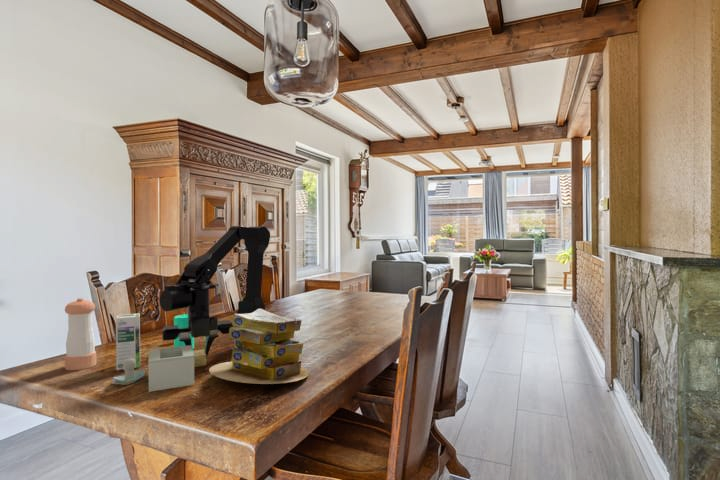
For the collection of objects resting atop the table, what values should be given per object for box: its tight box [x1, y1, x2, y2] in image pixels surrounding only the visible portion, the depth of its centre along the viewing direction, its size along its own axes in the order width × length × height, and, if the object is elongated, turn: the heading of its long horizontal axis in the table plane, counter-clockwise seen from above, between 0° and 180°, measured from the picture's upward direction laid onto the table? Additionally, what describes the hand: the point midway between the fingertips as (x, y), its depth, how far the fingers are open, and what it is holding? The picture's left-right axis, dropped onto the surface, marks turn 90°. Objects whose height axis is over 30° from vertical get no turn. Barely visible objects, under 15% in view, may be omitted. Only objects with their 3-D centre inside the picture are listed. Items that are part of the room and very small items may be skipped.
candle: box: [173, 313, 195, 350], centre depth 130 cm, size 6×6×12 cm
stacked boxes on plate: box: [208, 309, 309, 385], centre depth 104 cm, size 25×25×17 cm
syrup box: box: [115, 312, 141, 371], centre depth 112 cm, size 6×6×14 cm
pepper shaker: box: [64, 297, 97, 371], centre depth 112 cm, size 7×7×19 cm
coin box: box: [147, 345, 195, 393], centre depth 101 cm, size 10×10×7 cm
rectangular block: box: [193, 348, 207, 368], centre depth 115 cm, size 3×6×3 cm, turn 28°
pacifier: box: [111, 358, 146, 386], centre depth 101 cm, size 7×6×6 cm
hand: (199, 359), depth 115 cm, fingers closed on rectangular block, 3 cm apart
